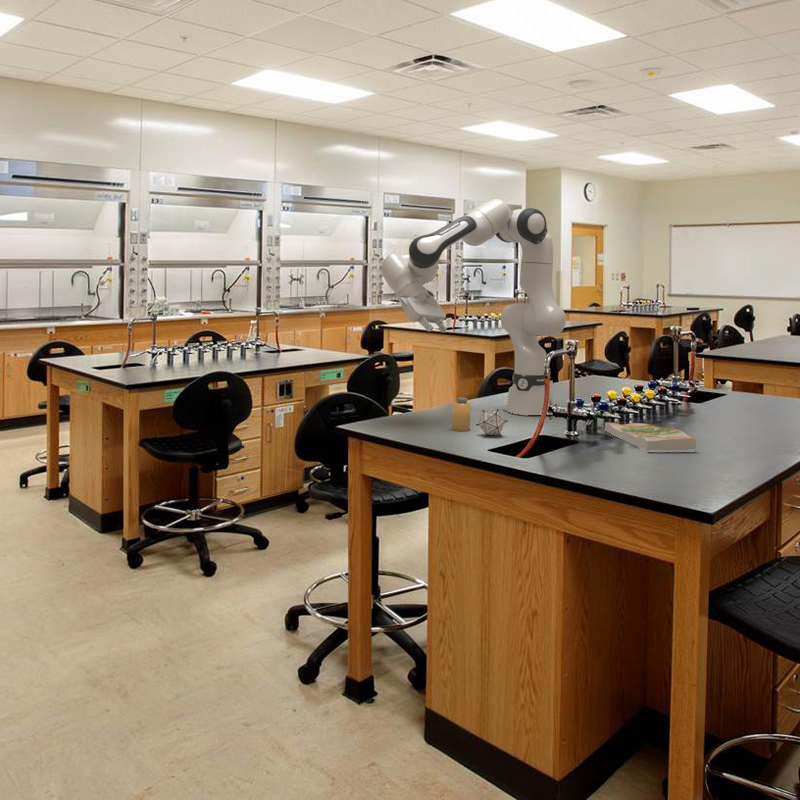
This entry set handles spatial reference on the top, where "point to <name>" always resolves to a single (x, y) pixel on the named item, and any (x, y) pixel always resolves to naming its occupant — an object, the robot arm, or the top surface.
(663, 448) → the topographic model
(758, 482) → the top surface
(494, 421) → the game die
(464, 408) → the bottle
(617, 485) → the top surface
